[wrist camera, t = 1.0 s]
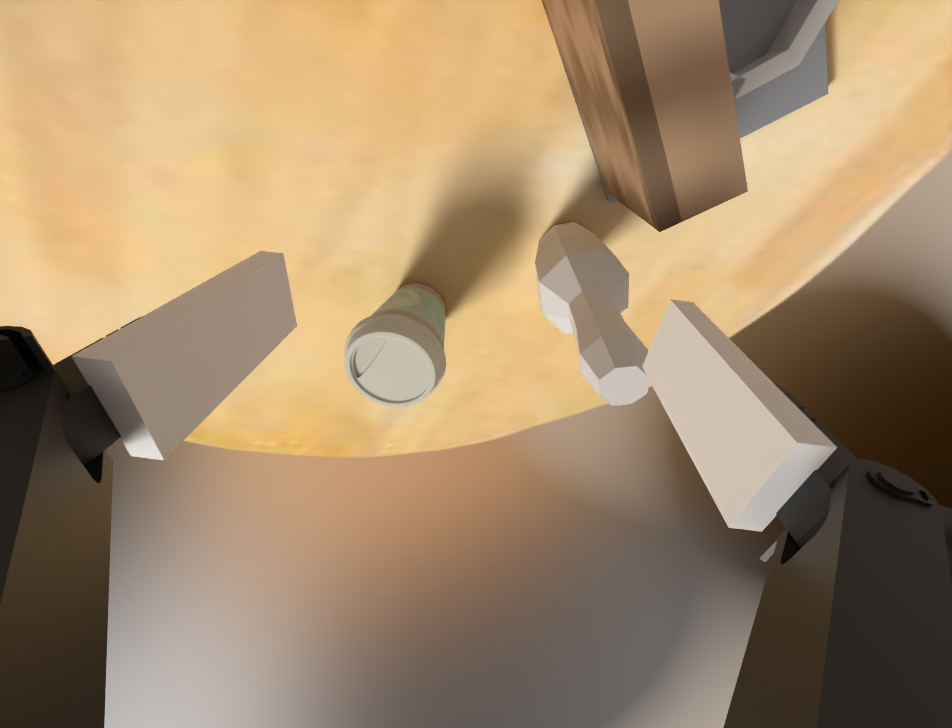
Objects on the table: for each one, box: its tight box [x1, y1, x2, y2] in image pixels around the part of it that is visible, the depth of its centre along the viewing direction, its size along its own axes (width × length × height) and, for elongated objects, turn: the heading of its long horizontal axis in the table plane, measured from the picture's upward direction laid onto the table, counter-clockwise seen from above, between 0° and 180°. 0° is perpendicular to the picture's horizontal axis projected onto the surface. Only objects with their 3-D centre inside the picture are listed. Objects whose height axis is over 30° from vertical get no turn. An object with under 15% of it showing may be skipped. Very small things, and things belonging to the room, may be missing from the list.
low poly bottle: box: [535, 222, 649, 406], centre depth 27 cm, size 6×6×22 cm
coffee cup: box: [344, 283, 446, 407], centre depth 35 cm, size 8×8×12 cm
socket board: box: [563, 0, 839, 203], centre depth 25 cm, size 20×16×4 cm
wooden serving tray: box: [542, 0, 748, 232], centre depth 23 cm, size 14×4×14 cm, turn 29°
